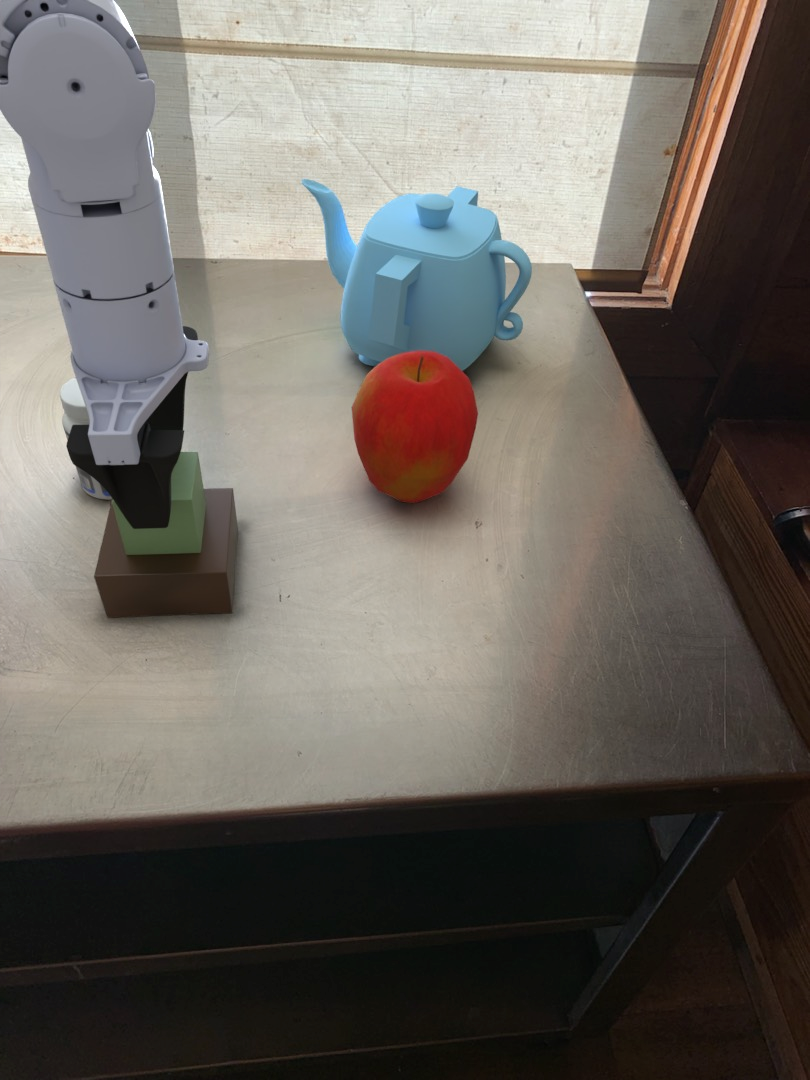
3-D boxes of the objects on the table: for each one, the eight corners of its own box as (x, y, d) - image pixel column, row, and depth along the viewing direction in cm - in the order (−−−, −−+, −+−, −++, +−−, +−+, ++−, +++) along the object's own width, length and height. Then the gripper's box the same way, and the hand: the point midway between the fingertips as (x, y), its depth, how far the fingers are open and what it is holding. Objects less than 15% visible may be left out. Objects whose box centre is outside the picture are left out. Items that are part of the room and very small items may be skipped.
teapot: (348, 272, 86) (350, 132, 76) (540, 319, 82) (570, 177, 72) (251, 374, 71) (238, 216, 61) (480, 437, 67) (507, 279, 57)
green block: (126, 555, 50) (111, 501, 46) (136, 505, 53) (123, 452, 50) (201, 553, 50) (191, 499, 47) (206, 504, 53) (198, 451, 50)
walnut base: (106, 618, 51) (93, 576, 48) (124, 531, 57) (113, 489, 54) (232, 613, 52) (226, 572, 49) (238, 528, 58) (232, 487, 55)
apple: (394, 437, 66) (402, 307, 58) (487, 480, 63) (511, 349, 55) (326, 496, 61) (325, 361, 52) (425, 546, 57) (441, 411, 49)
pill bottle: (154, 464, 62) (135, 373, 56) (134, 505, 59) (111, 412, 53) (95, 458, 62) (69, 366, 56) (71, 497, 59) (41, 404, 53)
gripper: (183, 352, 34) (217, 564, 44) (207, 212, 44) (230, 410, 54) (13, 352, 33) (85, 569, 43) (77, 209, 44) (124, 411, 53)
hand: (158, 481), depth 49 cm, fingers open, 7 cm apart
